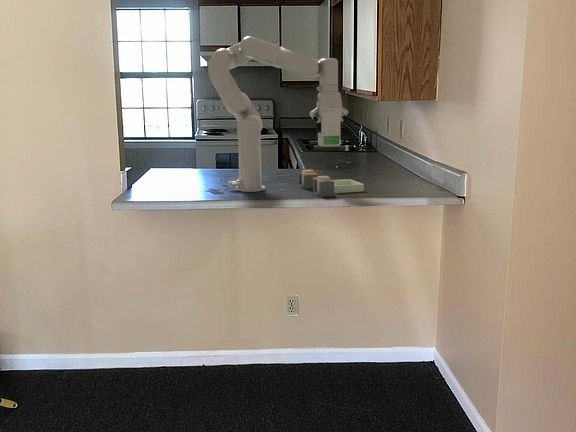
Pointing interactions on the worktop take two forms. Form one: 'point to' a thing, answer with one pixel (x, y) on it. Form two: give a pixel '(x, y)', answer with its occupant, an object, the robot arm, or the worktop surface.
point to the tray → (347, 186)
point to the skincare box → (330, 127)
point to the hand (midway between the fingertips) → (329, 131)
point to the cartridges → (319, 178)
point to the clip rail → (311, 183)
